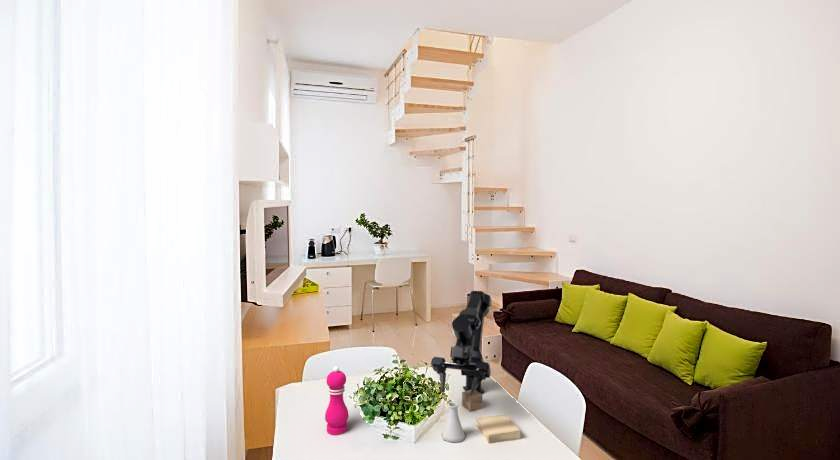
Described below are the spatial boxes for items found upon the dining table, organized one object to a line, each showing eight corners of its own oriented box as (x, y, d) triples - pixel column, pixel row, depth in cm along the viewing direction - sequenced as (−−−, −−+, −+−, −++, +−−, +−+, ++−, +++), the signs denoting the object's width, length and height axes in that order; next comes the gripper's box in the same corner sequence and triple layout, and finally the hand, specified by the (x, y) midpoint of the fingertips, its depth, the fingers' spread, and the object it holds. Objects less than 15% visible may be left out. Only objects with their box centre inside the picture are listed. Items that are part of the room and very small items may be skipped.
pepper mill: (325, 437, 123) (324, 372, 122) (324, 425, 130) (323, 363, 129) (349, 434, 125) (349, 369, 124) (347, 422, 131) (346, 361, 131)
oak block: (476, 427, 129) (476, 418, 129) (505, 423, 131) (505, 414, 131) (489, 445, 119) (489, 435, 119) (520, 440, 122) (520, 430, 121)
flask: (464, 444, 119) (464, 411, 118) (439, 441, 120) (439, 408, 120) (466, 431, 126) (466, 399, 125) (443, 429, 127) (443, 397, 127)
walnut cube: (462, 406, 142) (462, 392, 142) (473, 402, 145) (473, 389, 145) (470, 412, 138) (470, 397, 138) (482, 408, 140) (482, 394, 140)
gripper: (432, 332, 134) (422, 378, 124) (489, 337, 129) (483, 386, 118) (438, 348, 142) (429, 393, 132) (492, 354, 136) (487, 401, 126)
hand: (456, 393), depth 127 cm, fingers open, 9 cm apart
